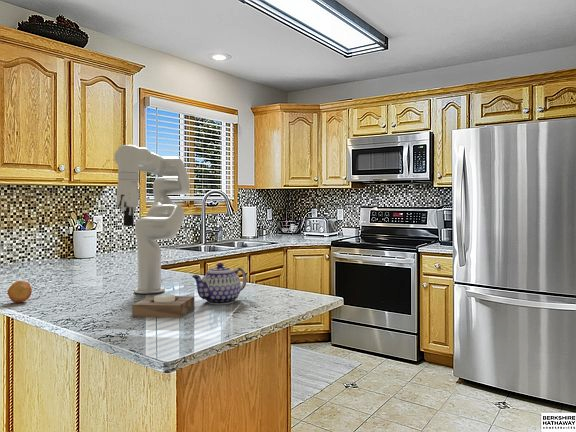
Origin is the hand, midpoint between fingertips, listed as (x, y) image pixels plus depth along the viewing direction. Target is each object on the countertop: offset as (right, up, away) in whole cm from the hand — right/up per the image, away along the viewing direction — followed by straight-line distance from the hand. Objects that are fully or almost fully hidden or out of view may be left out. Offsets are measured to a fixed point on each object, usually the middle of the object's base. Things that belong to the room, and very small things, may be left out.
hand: (128, 225), depth 175 cm
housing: (+18, -29, -18) cm, 39 cm away
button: (+18, -27, -18) cm, 37 cm away
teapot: (+35, -29, 0) cm, 46 cm away
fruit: (-44, -27, +4) cm, 52 cm away
